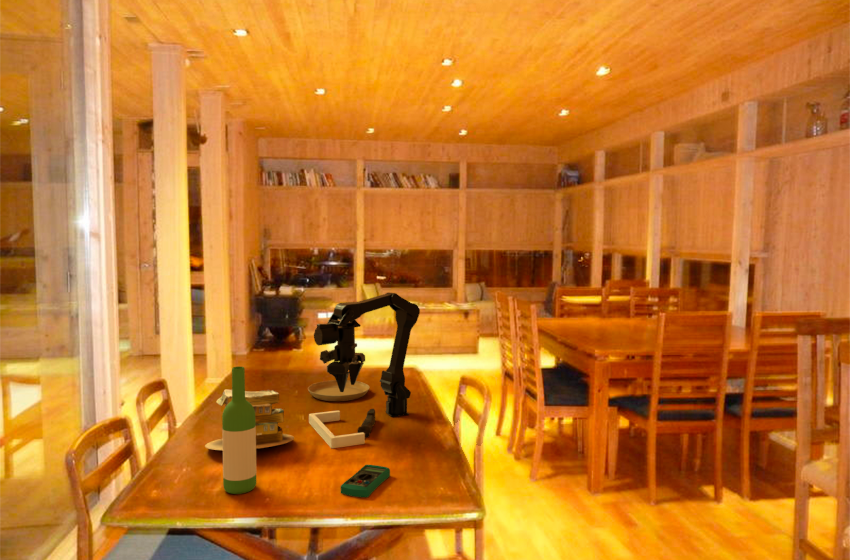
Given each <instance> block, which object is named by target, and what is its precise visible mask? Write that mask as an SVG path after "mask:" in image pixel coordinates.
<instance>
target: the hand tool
mask: <svg viewBox="0 0 850 560" xmlns="http://www.w3.org/2000/svg"><path fill="white" fill-rule="evenodd" d="M375 424H376V410H375V408H371V409H368V411H367V412H366V416H365V418H364V420H363V422H362V424H361V426H358V429H357V433H362V432H363V433H364V434H365V439H368V438H370V436H371V435H370V434H371V431H372V428H373V426H375Z"/></svg>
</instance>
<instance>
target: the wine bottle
mask: <svg viewBox="0 0 850 560" xmlns="http://www.w3.org/2000/svg"><path fill="white" fill-rule="evenodd" d="M245 376H246V375H245V367H244V366H233V367H231V390H232V401H231V402H230V403H229V404H228V405H227V406H226V407H224V409H223V411H222V416H221V419H222V420H221V422H222V427H221V429H222V437H221V439H222V438H223V450H222V478H223V480H222V483H223V489H224V491H225V492H226V493H228V494H231V495H233V494H234V495H240V494H241V495H242V494H246V493H249V492H250V491H252V490H254V489H255V488H256V485H257V449H256V422H255V410H254V408H253V406H252V405H251V404H250V403H249V402H248V401H247V400H246V399H245V391H246V378H245Z"/></svg>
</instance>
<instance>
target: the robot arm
mask: <svg viewBox="0 0 850 560" xmlns="http://www.w3.org/2000/svg"><path fill="white" fill-rule="evenodd" d="M385 307H390V308H391V310H393V311H394V312H395V322H396V325H397V327H396V332H395V338H394V341H393V342H394V343H393V347H392V352H391V356H390V360H389V361H390V362H389V365H388V367H387V369H386V370H383V369H382V371H381V376H380V379H379V382H380V388H381V389H382V391H383V393H384V395H385V396H387V398H386V399H387V400H386V402H385V413H386V414H387V415H389V416H390V417H392V418H394V417H402V416H409V415H410V413H409V412H408V399H409V398H410V397H411V393H412V391H410V389H409V388H407V386H406V376H405V372H404V366H405V361H406V356H407V351H408V346H409V341H410V336H411V331H412V329H413V328H414V326H415V325H416V324H417V322H418V320H419V316H420V312H421V309H420V307H419V305H417V304H416V303H413V302H410V301H409V300H408V299H405V298H404V297H402V296H400V295H399V294H398V293H396V292H390V291H389V292H386V293H384V294H380V295H377V296H374V297H370V298H366V299H362V300H359V301H347V302H344V301H343V302H338V303H337V304H336V305H335V306H334V308H333V312H332V314H331V316H330V317H329V319H328V321H327V323H316V327H315V330H314V333H313V339H314V344H316V345H317V346H324V345H325V346H326V345H332V344H333V345H334V344H335V346H334V349H331V350H327V349H325V350H323V351H320V353H319V360H320V361H322V363H323V364H327V363H329V362H330V363H329V364H328V365H326V372H327V373H328V374H329V375H332V376H333V377H334V380H336V381H337V384H338V387H339V390H340V392H344V389H345V386H346V382H347V380H348V378H349V380H350V382H351V385H354V384H355V382H356V381H357V379H358V377H359V375H360V372H361V371H362V367H363V365H364V363H365V362H366V355H365V354H364V352H356V348H357V347H358V343H357V342H356V336H355V334H356V332H355V331H356V330H355V328H358V327H361V324H360V323H359V322H357V320H358V319H359V318H361V317H362V316H363V315H364V314H367V313H369V312H370V313H371V312H373V311H376V310H379V309H382V308H385Z"/></svg>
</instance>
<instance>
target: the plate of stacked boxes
mask: <svg viewBox="0 0 850 560" xmlns="http://www.w3.org/2000/svg"><path fill="white" fill-rule="evenodd" d="M274 390H275V389H272V390H270V389H267V390H259V391H256V390H255V391H247V390H245V399H246V400H247V401H248V402H249V403H250V404H251V405H252V406H253V408H254V410H255V422H256V450H257V449H264V448H269V447H276V446H280V445H284V444H287V443H291V442H292V441H293V440H294V439H295V436H293V435H291V434H287V433H283V428H282V427H281V426H279V423H284V422H285V417H284V416H285V415H284V414H285V411H284V409H282V408H276V406H274V408H273V405H275V404H280V393H279V392H277V391H276V390H275V391H274ZM231 401H232V389H227V388H226V389H224V390H223V392H222V393H221V397H219V398H218V399H216V402H215V403H216V404H218V405H219V406H221V407H222V406H223V405H225V407H226V406H227V405H228V404H229V403H230V402H231ZM225 407H224V408H225ZM204 447H205V448H206V449H209V450H215V451H223V438H222V437H221V438H219V439H215V440H212V441H210V442H208V443H206V444H205V445H204Z"/></svg>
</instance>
